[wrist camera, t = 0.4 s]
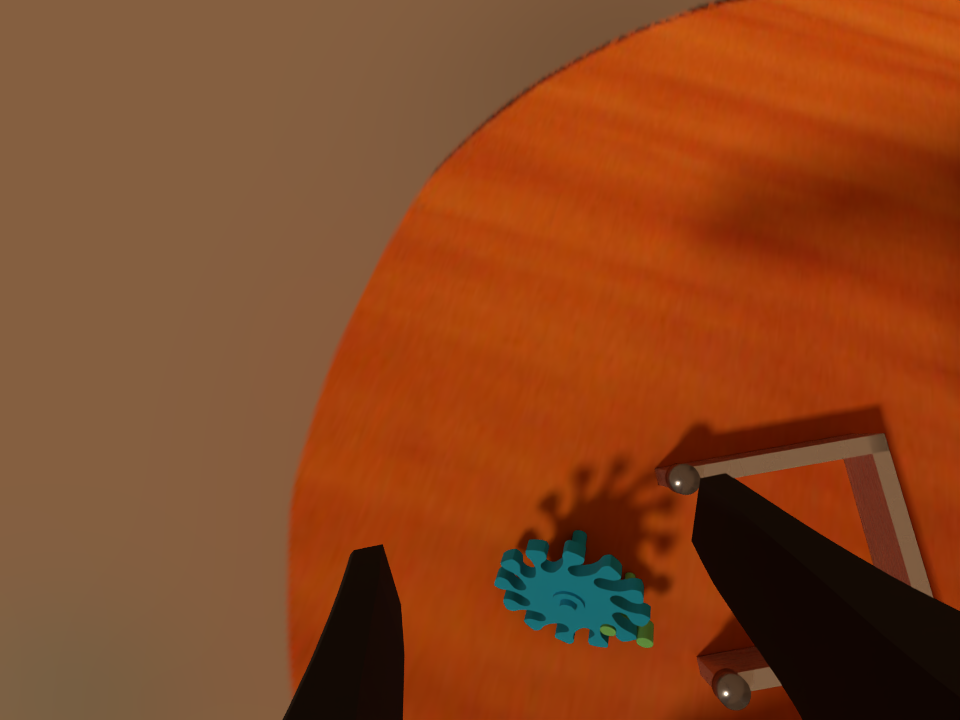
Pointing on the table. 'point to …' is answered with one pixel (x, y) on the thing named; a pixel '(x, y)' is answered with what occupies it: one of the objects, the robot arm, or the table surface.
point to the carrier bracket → (877, 511)
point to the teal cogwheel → (576, 594)
